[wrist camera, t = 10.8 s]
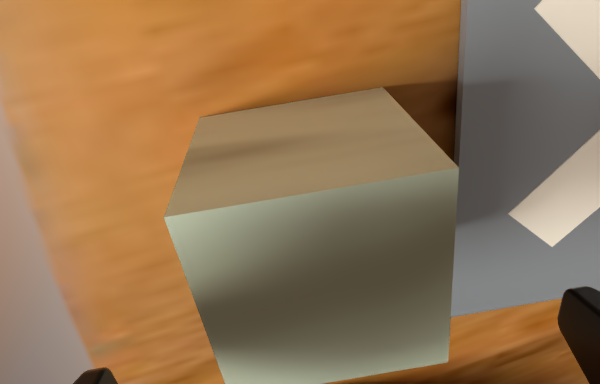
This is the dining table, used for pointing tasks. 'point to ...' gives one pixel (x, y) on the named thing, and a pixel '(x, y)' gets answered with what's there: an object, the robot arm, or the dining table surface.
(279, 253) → the sage cube
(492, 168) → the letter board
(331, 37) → the dining table surface
